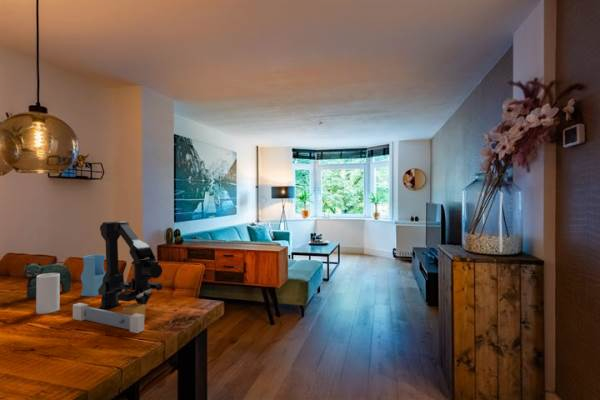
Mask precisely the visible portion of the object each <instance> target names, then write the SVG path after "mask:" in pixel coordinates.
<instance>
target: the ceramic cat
mask: <svg viewBox="0 0 600 400" xmlns="http://www.w3.org/2000/svg"><path fill="white" fill-rule="evenodd" d="M43 258H45V259H47V260H49V258H48V257H46V256H42V257H40V258H39V261H38V263H30V262H27V263H26V265H25V266H24V268H23V274H24V276H25V277H27V278H28V279H27V284H26V297H27V299H28V300H31V299H35V298H36V279H37V276H38V275H41V274H47V273H59V274H60V286H61V292H62V293H69V292H70V291H71V285H72V274H71V272H70V270H69V265H68V264H67V263H66V262H64V261H63V262H62V261H55V262H51V263H49V264H46V265H45V264H42V263H41V262H40V260H41V259H43ZM63 264H64V265H63Z"/></svg>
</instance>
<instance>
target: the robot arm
mask: <svg viewBox="0 0 600 400" xmlns="http://www.w3.org/2000/svg"><path fill="white" fill-rule="evenodd" d="M99 230H100V235H101V237H102V238H103V240H104V241H105V255H106V256H105V261H106V262H105V265H106V271H105V273H106V274H105V276H104V277H103V283H102V285H101V286H100V288H99V289H98V293H99V295H98V296H101V301H100V303H101V304H100V305H99V308H101V309H102V308H103V309H108V310H109V309H113V308H115V307H116V308H117V307H118V306H121V305H122V303H120V301H121V302H123V301H124V302H132V301H136V302H135V303H138V304H144V305H146V306H147V304H148V301H149V300H150V298H151V296H153V292H151V291H152V290H156V291H158V292H159V291H161V290H163V284H162V283H161V282H156V281H152V282H149V281H150V280H151V279H158V278H160V277H161V275H162V274H163V268H162V266H161V265H160V264H159V262H158V261H157V259H156V256H155V254H154V252H153V250H152V247H150V245H149V244H147V242H145V241H142V240H140V238H139V237H138V235H136V233H135V232H134V231H133V229H132V227H131V226H130V224H129V222H128V221H125V220H124V221H115V220H114V221H104V222H102V224H100V226H99ZM120 237H122V239H123V240H124V242H125V244H126V245H127V246H128V248H129V253H128V254H129V255H130V257H131V258H132V262H131V265H133V277H132V278H131V281H127V280H125V281H124V277H125V276H124V273H123V274H122V273H121V272H120V271H119V269H120V268H119V267H120V266H119V246H118V245H119V243H118V240H119V238H120Z"/></svg>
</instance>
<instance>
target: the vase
mask: <svg viewBox="0 0 600 400" xmlns="http://www.w3.org/2000/svg"><path fill="white" fill-rule="evenodd" d="M105 260H106V254H90V255H85V256H82V262H83V270H82V272H81V275H80V280H81V283H82V284H81V285H82V287H81V288H82V290H81V293H80V297H81V296H83V297H97V296H100V295H99V293H98V289H99V288H100V286H101V285H102V283H103V277H104V276H105V274H106V271H105V269H104V264H105V263H104V262H105Z"/></svg>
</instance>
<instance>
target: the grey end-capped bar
mask: <svg viewBox="0 0 600 400" xmlns="http://www.w3.org/2000/svg"><path fill="white" fill-rule="evenodd" d="M84 316H85V317H86V319H85V320H86V321H89V322H95V323H97V324H98V323H99V324H103V325H107V326H112V327H116V328H119V329H124V330H129V331H130V316H131V315H126V314H123V313H121V312H116V311H111V310H106V309H102V308H101V309H100V308H95V307H91V306H88V307H86V310H85V313H84Z"/></svg>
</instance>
